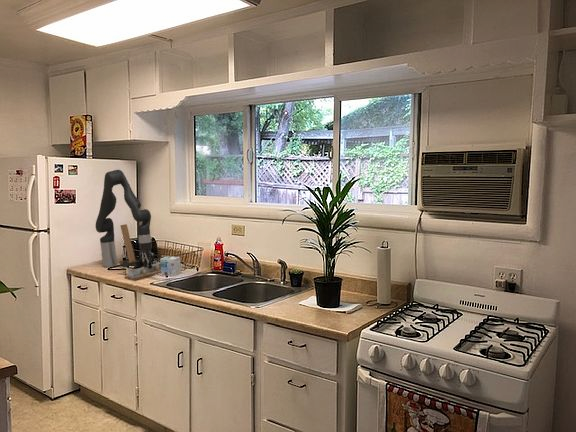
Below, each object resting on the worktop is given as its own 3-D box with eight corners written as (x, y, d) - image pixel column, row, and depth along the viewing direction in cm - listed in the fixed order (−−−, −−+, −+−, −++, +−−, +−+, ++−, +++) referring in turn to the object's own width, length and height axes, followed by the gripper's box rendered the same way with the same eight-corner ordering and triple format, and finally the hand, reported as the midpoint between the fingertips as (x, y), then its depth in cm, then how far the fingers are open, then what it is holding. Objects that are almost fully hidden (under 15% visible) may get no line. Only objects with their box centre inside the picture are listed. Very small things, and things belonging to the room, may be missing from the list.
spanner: (128, 276, 294) (128, 270, 294) (162, 266, 313) (162, 261, 313) (133, 277, 291) (132, 271, 291) (167, 267, 310) (166, 262, 310)
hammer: (121, 270, 326) (111, 227, 325) (127, 268, 330) (117, 226, 329) (139, 267, 315) (129, 223, 313) (145, 265, 319) (135, 222, 317)
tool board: (124, 278, 296) (123, 271, 295) (161, 267, 316) (160, 261, 316) (135, 281, 288) (134, 273, 288) (172, 270, 309) (171, 263, 308)
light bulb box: (161, 275, 297) (159, 258, 295) (166, 272, 303) (165, 256, 302) (176, 276, 294) (174, 259, 292) (181, 273, 300) (180, 256, 298)
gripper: (133, 241, 301) (136, 268, 303) (146, 243, 292) (149, 270, 294) (143, 239, 306) (146, 265, 309) (156, 241, 297) (159, 267, 300)
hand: (148, 267), depth 302 cm, fingers open, 4 cm apart
